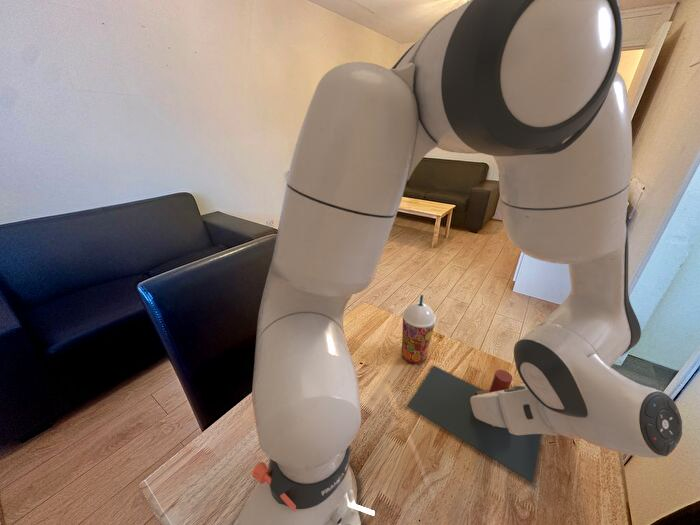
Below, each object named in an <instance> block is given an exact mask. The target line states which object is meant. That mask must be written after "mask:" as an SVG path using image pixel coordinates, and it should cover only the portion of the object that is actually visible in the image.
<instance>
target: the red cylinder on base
mask: <svg viewBox="0 0 700 525" xmlns="http://www.w3.org/2000/svg"><path fill="white" fill-rule="evenodd" d="M512 381H513V375H512V374H511V373H510V372H509V371H507V370H506V369H501V368H500V369H496V370H495V371H494V375H493V377H492V381H491V384H490V388H488V389H481V390H482V391H477V392H476V393H475V396H476V395H478V394H486V393H490V392H495V391H500V390H505V389H509V388H511V387H510V386H511V384H512ZM492 426H493V427H495V426H494V425H492Z"/></svg>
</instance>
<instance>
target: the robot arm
mask: <svg viewBox="0 0 700 525" xmlns="http://www.w3.org/2000/svg"><path fill="white" fill-rule="evenodd" d="M623 32H624V30H623V17H622V13H621V8H620V4H619V1H618V0H468V1H466V2H465V3H463V4H462V5H460V6H458V7H457V8H455V9H453V10H451V11H449V12H448V13H447V14H444V16H442V17H441V18H440V19H439V20H437V21H436V22H435V23H434V24H433V25H432V26H431V27H429V29H428V30H427V31H426V32H425V33H424V34H423V35H422V36H421V37H420V39H419V40H418V41H416V42H415V43H414V44H413V45H411V46H410V48H408V49H407V50H406V51H405V52H404V53H403V55H402V56H401V57H400V58H399V59H398V60H397V62H396V63H395V64H394V65H393V66H392V67H391V68H390V69H389V68H387V67H385V66H382V65H381V64H378V63H377V64H376V63H373V62H366V61H365V62H364V61H352V62H346V63H342V64H339V65H336V66H334V67H332V68H331V69H329V70H328V71H327V72H326V73H324V75H323V76H322V77H321V78H320V80H319V81H318V83H317V85H316V87H315V89H314V92H313V94H312V97H311V100H310V102H309V104H308V107H307V110H306V112H305V115H304V118H303V121H302V124H301V126H300V130H299V133H298V136H297V140H296V143H295V146H294V150H293V154H292V157H291V161H290V165H289V169H288V175H287V181H286V185H285V190H284V194H283V195H284V196H283V201H282V205H281V212H280V217H279V222H278V227H277V231H276V237H275V242H274V243H275V244H274V249H273V253H272V258H271V262H270V265H269V269H268V272H267V275H266V280H265V284H264V287H263V292H262V297H261V302H260V305H259V311H258V315H257V325H256V338H255V350H254V351H255V352H254V361H253V362H254V364H253V375H252V376H253V377H252V389H251V401H252V409H253V416H254V423H255V429H256V434H257V439H258V444H259V445H258V446H259V447H260V449H261V451H262V452H263V454H264V455H265V456H267V457H268V459H269V462H268V465H267V466H266V464H265V462H264V461H260V462H258V463H257V464H256V465H255V467H254V468H253V470H252V472H251V475H252V477H253V478H254V479H256V480H257V481H258V482H257V483H256V485H255V487H254V488H253V490H252V492H251V493H250V495H249V497H248V498H247V500H246V502H245V504H244V506H243V507H242V508H241V510H240V511H239V512H240V513H239V515H238V516H237V517H236V519H235V521H234V523H232V525H362V521H361V517H360V513H359V512H362V513H365V514H368V515H371V516H373V517H375V510H372V509H370V508H367V507H364V506H361V505H359V504H358V503H357V500H358V486H357V480H356V476H355V473H354V471H353V468H352V467H351V465H350V464H351V463H350V462H351V453H352V449H351V444H352V443H353V442H354V440H355V439H356V437H357V435H358V434H359V432H360V429H361V427H362V405H361V394H360V384H359V378H358V373H357V369H356V367H355V364H354V363H355V362H354V361H353V357H352V354H351V352H350V349H349V345H348V342H347V339H346V335H345V331H344V314H345V309H346V308H347V305H348V303H349V302H350V300H351V298H352V296H353V295H357V294H359V293H361V292H363V291H364V290H366V289H368V288H369V287H370V285H372V283H373V281H374V280H375V277H376V274H377V271H378V268H379V266H380V264H381V263H380V262H381V260H382V257H383V254H384V251H385V249H386V246H387V243H388V241H389V237H390V234H391V232H392V230H393V226H394V223H395V220H396V217H397V214H398V211H399V209H400V205H401V202H402V200H403V196H404V192H405V189H406V186H407V182H408V181H409V180H410V179H411V176H412V174H413V172H414V171H415V169H416V168H417V166H418V165H419V163H420V162H421V161H422V160H423V158H424V157H425V156H426V155H428V153H430V152H431V151H432V150H434V149H435V148H438V149H440V150H442V151H445V152H449V153H457V154H484V155H488V156H492V157H493V160H494V161H495V164H496V166H497V169H498V188H499V199H500V200H499V201H500V213H501V220H502V225H503V229H504V231H505V232H504V233H505V234H506V238H507V239H508V241H509V242H510V244H512V246H513V247H515V248H516V249H517V250H518V251H520V252H521V253H523V254H524V255H526V256H527V257H530V258H532V259H535V260H538V261H542V262H546V263H551V264H559V265H568V272H569V281H570V292H569V294H568V296H567V297H566V299H564V301H563V302H562V303H561V304H560V305H559V306H558V307H557V308H556V309H555V310H554V311H553V312H551V313H550V314H549V315H548V316H547V317H545V318H544V319H543V320H542V321H540V322H539V323H538V324H537V325H535V326H534V327H533V328H532V329H531V330H530V331H528V332H527V333H526V334H524V336H522V337H521V338H520V339H519V340H518V341H516V342H515V344H514V346H513V359H514V364H515V368H516V370H517V373H518V376H519V378H520V379H521V381H522V383H520V384H518V385H515V386H513V387H509V389H505V390H500V391H495V392H490V393H486V394H478V395H476V396H472V397H471V398H470V402H471V407H472V411H473V414H474V416H475V417H476V418H477V419H479V420H481V421H483V422H486V423H488V424H491V425H494V426H497V427H502V428H508V431H509V432H510V433H511V434H514V435H533V434H541V435H547V436H548V435H549V436H556V437H557V436H560V437H561V436H562V437H564V438H568V439H572V440H583V441H585V442H587V443H589V444H591V445H593V446H595V447H597V448H602V449H605V450H608V451H612V452H615V453H619V454H625V455H628V456H633V457H638V458H648V459H649V458H650V459H658V458H659V459H660V458H665V457H668V456H669V455H670V454H671V453H673V452H674V450H675V449H676V447H677V446H678V444H679V443H680V442H681V439H682V436H683V420H682V416H681V414H680V410H679V408H678V406H677V404H676V403H675V400H673V399H672V397H671V396H670V395H669V394H667V393H666V392H664V391H663V390H660V389H657V388H654V387H650V386H647V385H643V384H640V383H638V382H636V381H634V380H632V379H630V378H628V377H626V376H625V375H623V374H621V373H620V372H618V371H617V370H615V369H614V368H613V367H612V366H613V365H614V364H615V363H616V362H617V361H618V360H619V359H620V358H621V357H622V356H624V355H625V354H627V353H628V352H629V351H630V350H631V349H633V348H634V347H635V346H636V345H637V344H638V343H639V342H640V340H641V337H642V329H641V324H640V321H639V319H638V317H637V315H636V312H635V310H634V308H633V306H632V304H631V300H630V296H629V295H630V294H629V232H628V227H627V226H628V225H627V221H626V220H627V213H628V204H629V196H630V187H631V178H632V164H633V130H632V129H633V128H632V118H631V109H630V102H629V96H628V90H627V85H626V82H625V80H624V78H623V77H622V75H621V74H620V73H619V71H618V69H619V65H620V61H621V57H622V56H621V55H622V48H623Z"/></svg>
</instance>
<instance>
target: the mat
mask: <svg viewBox="0 0 700 525" xmlns="http://www.w3.org/2000/svg"><path fill="white" fill-rule="evenodd" d="M482 390H483V389H482V388H479V387H478V386H475V385H473V384H471V383H469V382H467V381H465V380H464V379H461V378H459V377H457V376H456V375H454V374H451V373H449V372H448V371H445V370H443V369H441V368H439V367H437V366H435V365H433V366H432V368H431V369H430V371H429V372H428V374H427V375H426V377H425V379H424V380H423V382H422V383H421V385H420V386H419V388H418V389H417V391H416V392H415V393H414V395H413V397H412V398H411V399H410V401H409V403H408V404H407V408H409V409H410V410H413V411H414V412H416V413H417V414H419V415H421V416H423V418H425V419H427V420H429V421H430V422H432V423H433V424H435V425H437V426H438V427H440V428H441V429H443V430H445V431H446V432H448V433H450V434H451V435H453V436H454V437H457V438H458V439H459V440H461V441H463V442H464V443H466V444H468V445H470V446H471V447H473V448H474V449H476V450H477V451H479V452H481V453H483V454H484V455H485V456H487V457H489V458H490V459H492V460H493V461H495V462H497V463H499V464H500V465H502V466H503V467H505V468H507V469H508V470H510V471H511V472H513V473H515V474H516V475H519V476H520V477H521V478H523V479H524V480H526V481H528V482H530V483H531V484H533V482H534V478H535V473H536V467H537V460H538V454H539V448H540V444H541V437H542V434H533V435H514V434H511V433H510V432H509V431H508V428H502V427H497V426H495V427H493V426H492V425H491V424H488V423H486V422H483V421H481V420H479V419H477V418H476V417H475V416H474V414H473V411H472V407H471V402H470V398H471V397H472V396H475V393H476V392H477V391H482Z"/></svg>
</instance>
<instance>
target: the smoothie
mask: <svg viewBox="0 0 700 525" xmlns="http://www.w3.org/2000/svg"><path fill="white" fill-rule="evenodd" d="M423 300H424V294H421V295H420V297H419V301H417V302H412V303H411V304H409V305H408V306H407V307H406V308H405V309H404V310H403V312H402V331H401V332H402V334H401V336H402V337H401V353H402V355H403V358H404V359H405V360H406V361H408V362H409V363H411V364H420V363H422V362H423V361H424V360H425V359H426V358H427V356H428V352H429V349H430V344H431V340H432V337H433V333H434V328H435V325H436V321H437V317H436V314H435V312H434V310H433V309H432V307H430V306H429V305H428V304H427V303H424V302H423Z"/></svg>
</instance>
